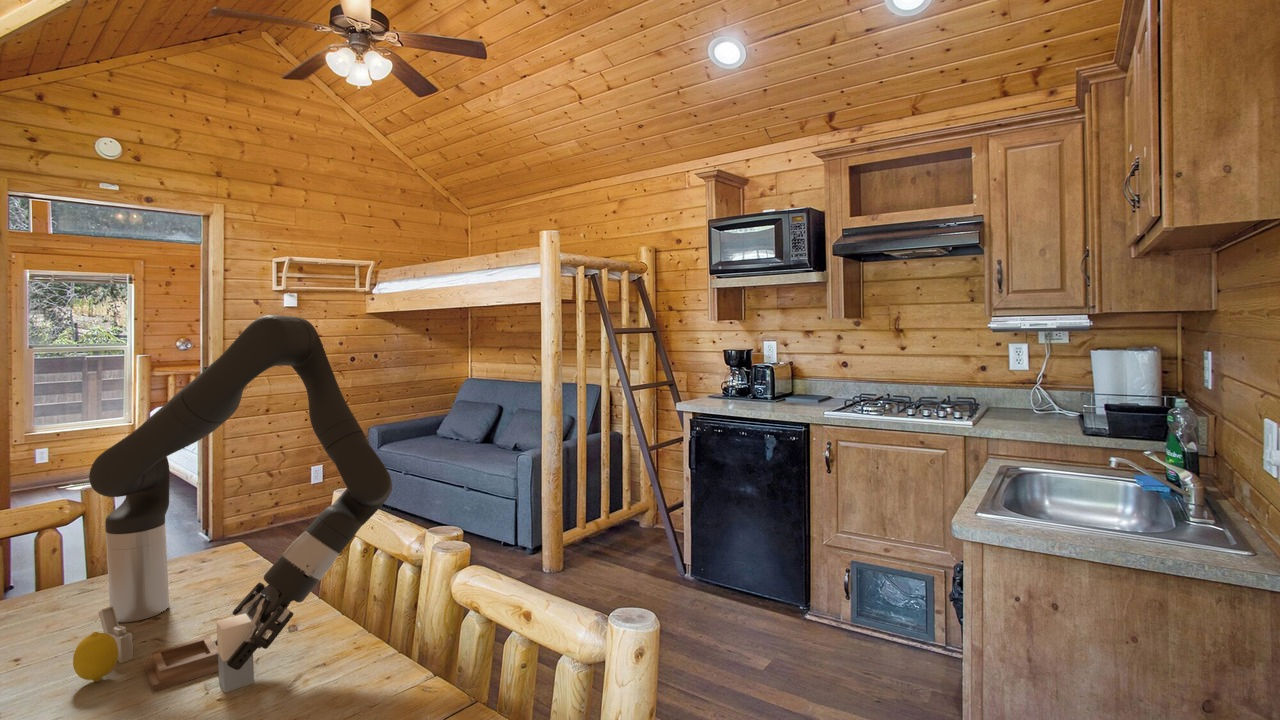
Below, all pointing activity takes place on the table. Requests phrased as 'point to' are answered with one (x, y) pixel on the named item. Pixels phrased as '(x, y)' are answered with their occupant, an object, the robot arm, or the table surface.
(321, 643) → the table surface
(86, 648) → the lemon
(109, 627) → the lighter
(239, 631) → the brick block
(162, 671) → the socket board
